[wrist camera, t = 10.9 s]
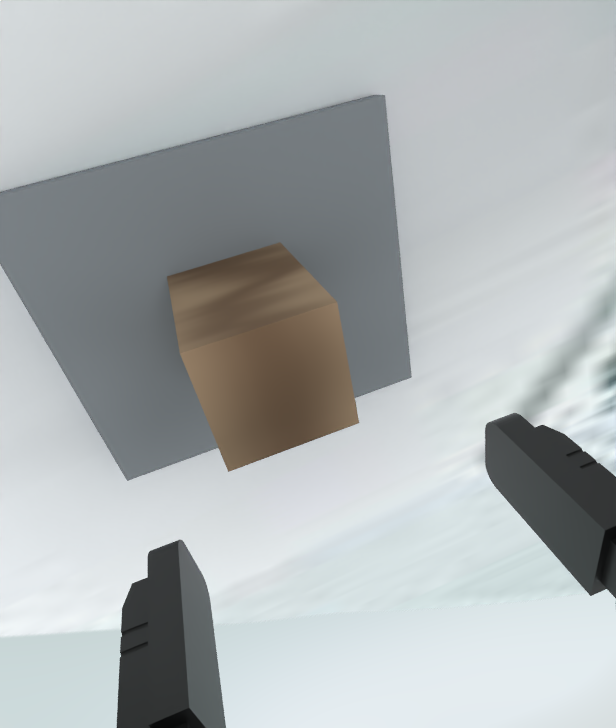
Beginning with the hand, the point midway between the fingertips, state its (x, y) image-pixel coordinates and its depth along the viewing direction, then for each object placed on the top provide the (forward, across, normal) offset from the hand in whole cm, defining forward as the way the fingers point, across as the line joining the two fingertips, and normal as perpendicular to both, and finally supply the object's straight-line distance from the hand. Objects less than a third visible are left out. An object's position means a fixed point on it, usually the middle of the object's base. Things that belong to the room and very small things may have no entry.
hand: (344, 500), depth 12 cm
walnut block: (+12, +1, 0) cm, 12 cm away
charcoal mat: (+13, +1, 0) cm, 13 cm away
